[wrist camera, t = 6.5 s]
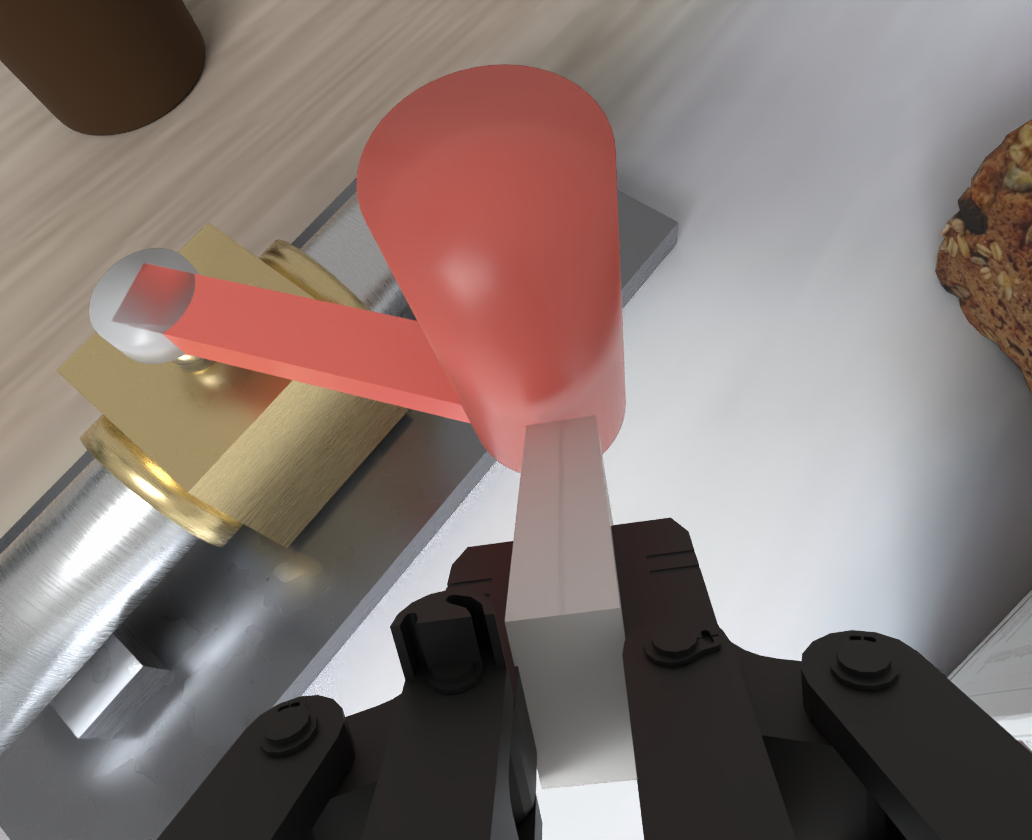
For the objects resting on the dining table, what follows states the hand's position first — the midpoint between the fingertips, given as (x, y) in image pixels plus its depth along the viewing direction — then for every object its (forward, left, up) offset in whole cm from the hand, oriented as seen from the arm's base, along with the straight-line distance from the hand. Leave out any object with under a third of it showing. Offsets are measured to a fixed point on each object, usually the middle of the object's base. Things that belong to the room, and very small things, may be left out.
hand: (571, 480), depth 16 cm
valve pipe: (-13, -6, -14) cm, 20 cm away
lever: (-8, -2, -3) cm, 9 cm away
